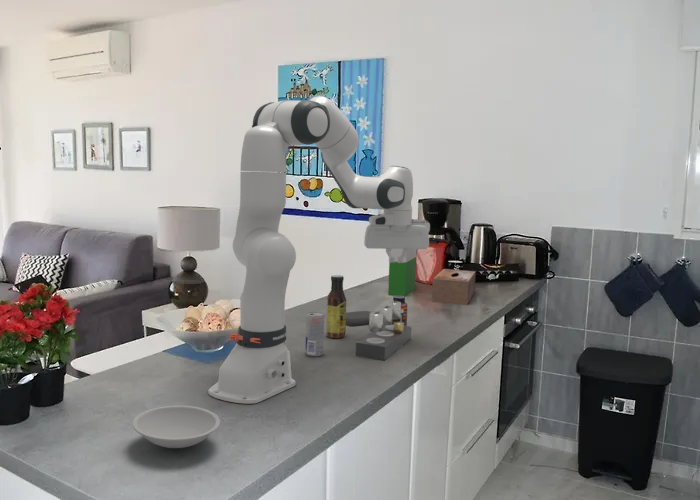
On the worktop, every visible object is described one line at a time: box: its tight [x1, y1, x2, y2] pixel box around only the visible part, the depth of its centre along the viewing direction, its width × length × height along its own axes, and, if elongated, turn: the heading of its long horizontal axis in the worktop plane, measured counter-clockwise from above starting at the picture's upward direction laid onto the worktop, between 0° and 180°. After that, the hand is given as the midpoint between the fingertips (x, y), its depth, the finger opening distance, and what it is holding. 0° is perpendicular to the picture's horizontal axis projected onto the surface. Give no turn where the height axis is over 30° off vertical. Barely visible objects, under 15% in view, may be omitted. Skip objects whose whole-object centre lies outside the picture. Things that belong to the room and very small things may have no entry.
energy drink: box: [304, 311, 325, 357], centre depth 169 cm, size 5×5×12 cm
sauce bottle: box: [325, 274, 347, 339], centre depth 186 cm, size 7×6×20 cm
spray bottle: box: [346, 310, 372, 327], centre depth 209 cm, size 3×11×24 cm
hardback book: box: [387, 249, 418, 298], centre depth 255 cm, size 18×7×24 cm, turn 159°
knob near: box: [368, 310, 383, 333], centre depth 169 cm, size 4×4×5 cm
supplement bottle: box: [392, 296, 408, 326], centre depth 197 cm, size 6×6×11 cm
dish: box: [132, 404, 221, 449], centre depth 112 cm, size 18×14×5 cm
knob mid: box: [378, 305, 392, 326], centre depth 176 cm, size 4×4×5 cm
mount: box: [355, 324, 412, 361], centre depth 177 cm, size 24×9×4 cm, turn 156°
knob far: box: [387, 300, 401, 319], centre depth 184 cm, size 4×4×5 cm
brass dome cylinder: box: [394, 322, 404, 334], centre depth 179 cm, size 3×3×3 cm
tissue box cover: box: [431, 268, 476, 306], centre depth 249 cm, size 26×14×10 cm, turn 161°
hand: (395, 262), depth 181 cm, fingers closed
